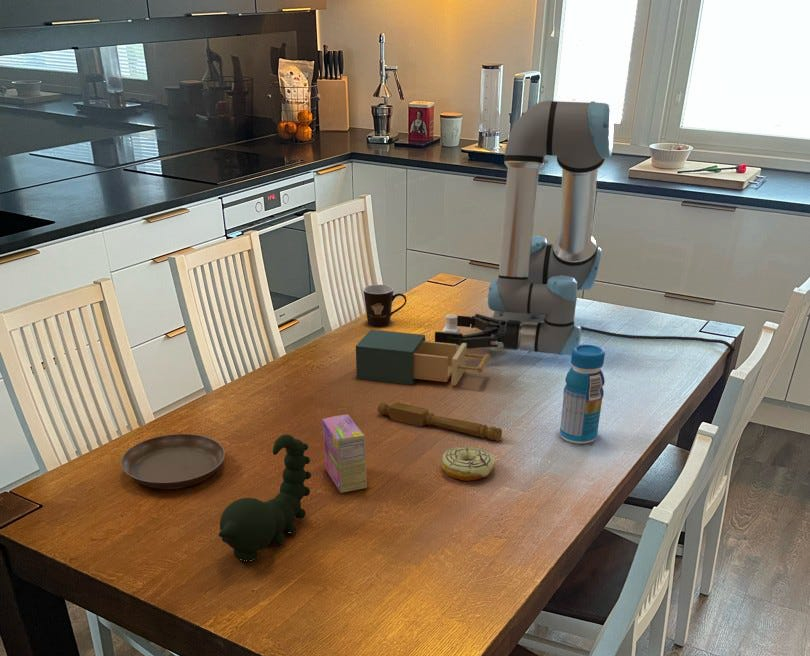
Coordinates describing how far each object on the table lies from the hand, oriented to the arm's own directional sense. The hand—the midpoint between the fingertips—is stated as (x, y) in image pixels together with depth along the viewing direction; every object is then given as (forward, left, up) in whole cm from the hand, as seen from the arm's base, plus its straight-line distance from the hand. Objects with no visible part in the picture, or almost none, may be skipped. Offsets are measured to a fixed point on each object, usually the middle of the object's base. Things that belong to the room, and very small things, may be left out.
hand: (441, 328), depth 228 cm
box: (+1, +74, -6) cm, 74 cm away
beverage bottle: (-42, +42, -6) cm, 59 cm away
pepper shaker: (-3, 0, -6) cm, 7 cm away
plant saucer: (+36, +80, -6) cm, 88 cm away
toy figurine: (+7, +99, -6) cm, 99 cm away
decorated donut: (-22, +64, -6) cm, 68 cm away
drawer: (-6, +19, -5) cm, 20 cm away
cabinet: (+8, +19, -6) cm, 21 cm away
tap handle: (-11, +46, -6) cm, 47 cm away
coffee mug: (+21, -15, -6) cm, 26 cm away
